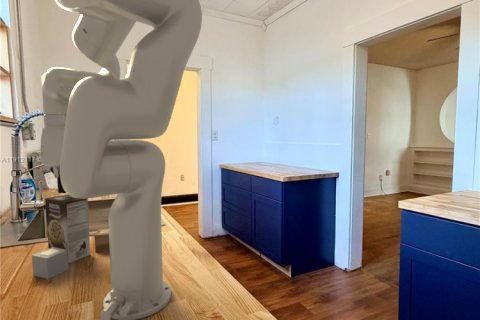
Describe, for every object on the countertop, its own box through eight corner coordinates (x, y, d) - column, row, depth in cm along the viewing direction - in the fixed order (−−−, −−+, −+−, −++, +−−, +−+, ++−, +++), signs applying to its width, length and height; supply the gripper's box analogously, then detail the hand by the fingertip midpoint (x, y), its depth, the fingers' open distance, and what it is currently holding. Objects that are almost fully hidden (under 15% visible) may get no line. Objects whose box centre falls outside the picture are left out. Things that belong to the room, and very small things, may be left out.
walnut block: (114, 250, 79) (113, 233, 79) (95, 252, 78) (94, 234, 78) (117, 244, 84) (116, 227, 84) (99, 245, 83) (98, 228, 82)
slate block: (48, 279, 64) (46, 258, 63) (33, 275, 65) (31, 254, 65) (68, 269, 68) (67, 249, 68) (54, 266, 70) (52, 246, 70)
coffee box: (47, 256, 75) (43, 197, 74) (71, 248, 81) (68, 193, 79) (67, 264, 71) (64, 201, 69) (91, 254, 77) (88, 196, 75)
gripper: (97, 123, 76) (100, 190, 78) (46, 123, 77) (50, 188, 79) (79, 122, 68) (82, 196, 70) (22, 122, 70) (27, 194, 72)
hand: (65, 192), depth 75 cm, fingers closed
